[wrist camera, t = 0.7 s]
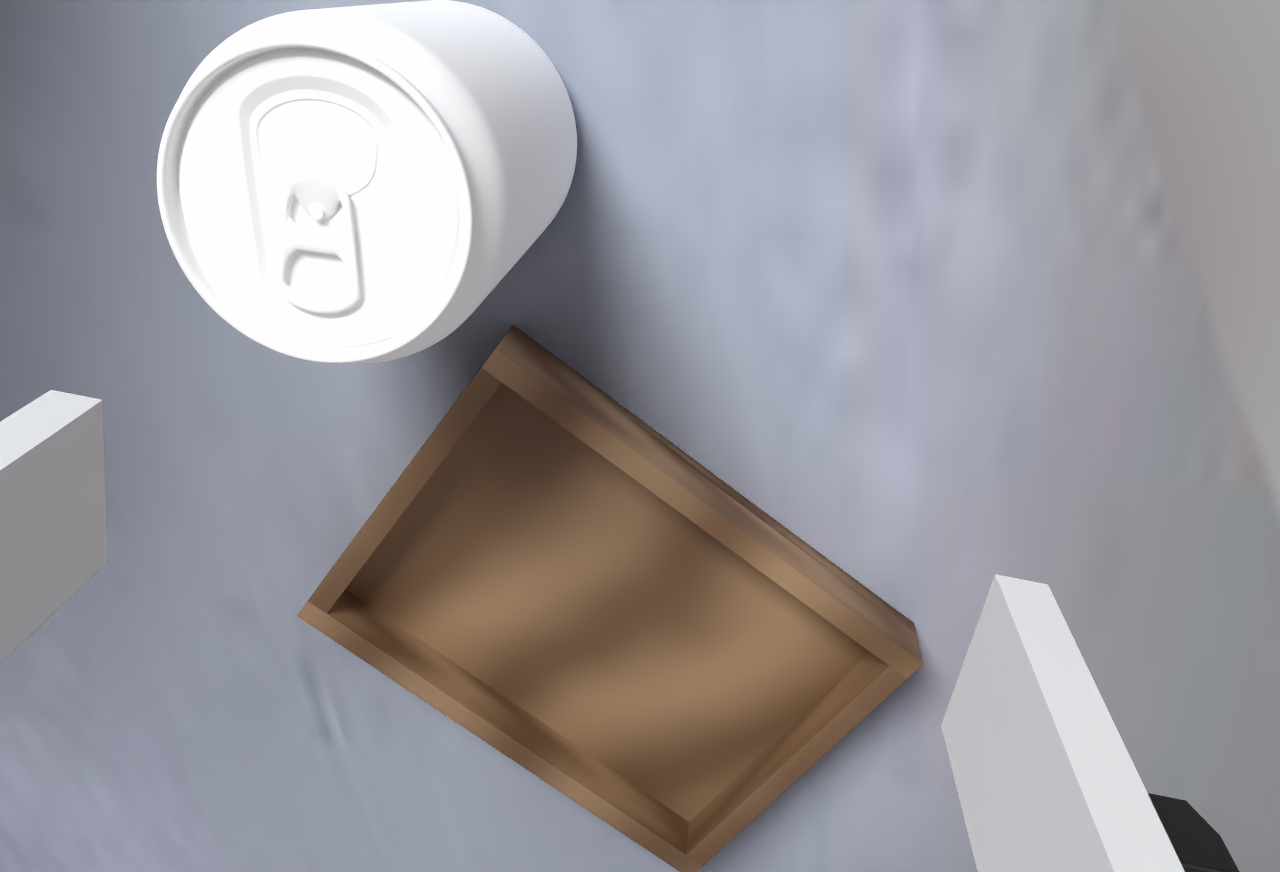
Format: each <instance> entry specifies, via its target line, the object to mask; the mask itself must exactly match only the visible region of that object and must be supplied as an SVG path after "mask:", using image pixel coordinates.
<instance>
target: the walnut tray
mask: <svg viewBox="0 0 1280 872" xmlns="http://www.w3.org/2000/svg"><path fill="white" fill-rule="evenodd" d="M297 616H298V617H300V618H301V619H303V620H304V621H306V622H307V623H309V624H310V625H312V626H313V627H315V628H316V629H318V630H319V631H321V632H322V633H324V634H325V635H327V636H328V637H330V638H331V639H333V640H334V641H336V642H337V643H339V644H340V645H342V646H343V647H345V648H346V649H348V650H349V651H351V652H352V653H354V654H355V655H357V656H358V657H360V658H361V659H363V660H364V661H365V662H367V663H368V664H370V665H371V666H373V667H374V668H376V669H377V670H379V671H380V672H382V673H383V674H385V675H386V676H388V677H389V678H391V679H392V680H394V681H395V682H397V683H398V684H400V685H401V686H403V687H404V688H406V689H407V690H409V691H410V692H412V693H413V694H415V695H416V696H418V697H419V698H421V699H422V700H424V701H425V702H427V703H428V704H430V705H431V706H433V707H434V708H436V709H437V710H439V711H440V712H442V713H443V714H445V715H446V716H448V717H449V718H451V719H452V720H454V721H455V722H457V723H458V724H460V725H461V726H463V727H464V728H466V729H467V730H469V731H470V732H472V733H473V734H475V735H476V736H478V737H479V738H481V739H482V740H484V741H485V742H487V743H488V744H490V745H491V746H493V747H494V748H496V749H497V750H499V751H500V752H502V753H503V754H505V755H506V756H508V757H509V758H511V759H512V760H514V761H515V762H517V763H518V764H520V765H521V766H523V767H524V768H526V769H527V770H529V771H530V772H532V773H533V774H535V775H536V776H538V777H539V778H541V779H542V780H544V781H545V782H547V783H548V784H550V785H551V786H553V787H554V788H556V789H557V790H559V791H560V792H562V793H563V794H565V795H566V796H568V797H569V798H571V799H572V800H574V801H575V802H577V803H578V804H580V805H581V806H583V807H584V808H586V809H587V810H589V811H590V812H592V813H593V814H595V815H596V816H598V817H599V818H601V819H602V820H604V821H605V822H607V823H608V824H610V825H611V826H613V827H614V828H616V829H617V830H619V831H620V832H622V833H623V834H625V835H626V836H628V837H629V838H631V839H632V840H634V841H635V842H637V843H638V844H639V845H641V846H642V847H644V848H645V849H647V850H648V851H650V852H651V853H653V854H654V855H656V856H657V857H659V858H660V859H662V860H663V861H665V862H666V863H668V864H669V865H671V866H672V867H674V868H675V869H677V870H678V871H680V872H697V871H698V870H699V869H700V868H701V867H702V866H703V865H705V864H706V863H707V862H708V861H709V860H710V859H711V858H712V857H713V856H714V855H715V854H717V853H718V852H719V851H720V850H721V849H722V848H723V847H724V846H725V845H726V844H727V843H729V842H730V841H731V840H732V839H733V838H734V837H735V836H736V835H737V834H738V833H739V832H741V831H742V830H743V829H744V828H745V827H746V826H747V825H748V824H749V823H750V822H751V821H753V820H754V819H755V818H756V817H757V816H758V815H759V814H760V813H761V812H762V811H763V810H765V809H766V808H767V807H768V806H769V805H770V804H771V803H772V802H773V801H774V800H775V799H777V798H778V797H779V796H780V795H781V794H782V793H783V792H784V791H785V790H786V789H787V788H789V787H790V786H791V785H792V784H793V783H794V782H795V781H796V780H797V779H798V778H799V777H801V776H802V775H803V774H804V773H805V772H806V771H807V770H808V769H809V768H810V767H811V766H813V765H814V764H815V763H816V762H817V761H818V760H819V759H820V758H821V757H822V756H824V755H825V754H826V753H827V752H828V751H829V750H830V749H831V748H832V747H833V746H834V745H836V744H837V743H838V742H839V741H840V740H841V739H842V738H843V737H844V736H845V735H846V734H848V733H849V732H850V731H851V730H852V729H853V728H854V727H855V726H856V725H857V724H858V723H860V722H861V721H862V720H863V719H864V718H865V717H866V716H867V715H868V714H869V713H870V712H872V711H873V710H874V709H875V708H876V707H877V706H878V705H879V704H880V703H881V702H882V701H884V700H885V699H886V698H887V697H888V696H889V695H890V694H891V693H892V692H893V691H894V690H896V689H897V688H898V687H899V686H900V685H901V684H902V683H903V682H904V681H905V680H906V679H908V678H909V677H910V676H911V675H912V674H913V673H914V672H915V671H916V670H917V669H918V668H920V667H921V666H922V665H923V661H922V657H921V652H920V648H919V643H918V639H917V635H916V630H915V626H914V623H913V622H912V621H910V620H909V619H908V618H906V617H905V616H904V615H902V614H901V613H900V612H898V611H897V610H896V609H894V608H893V607H892V606H890V605H889V604H887V603H886V602H885V601H883V600H882V599H881V598H879V597H878V596H877V595H875V594H874V593H873V592H871V591H870V590H869V589H867V588H866V587H865V586H863V585H862V584H861V583H859V582H858V581H857V580H855V579H854V578H853V577H851V576H850V575H848V574H847V573H846V572H844V571H843V570H842V569H840V568H839V567H838V566H836V565H835V564H834V563H832V562H831V561H830V560H828V559H827V558H826V557H824V556H823V555H822V554H820V553H819V552H818V551H816V550H815V549H813V548H812V547H811V546H809V545H808V544H807V543H805V542H804V541H803V540H801V539H800V538H799V537H797V536H796V535H795V534H793V533H792V532H791V531H789V530H788V529H787V528H785V527H784V526H783V525H781V524H780V523H779V522H777V521H776V520H774V519H773V518H772V517H770V516H769V515H768V514H766V513H765V512H764V511H762V510H761V509H760V508H758V507H757V506H756V505H754V504H753V503H752V502H750V501H749V500H748V499H746V498H745V497H744V496H742V495H741V494H739V493H738V492H737V491H735V490H734V489H733V488H731V487H730V486H729V485H727V484H726V483H725V482H723V481H722V480H721V479H719V478H718V477H717V476H715V475H714V474H713V473H711V472H710V471H709V470H707V469H706V468H705V467H703V466H702V465H700V464H699V463H698V462H696V461H695V460H694V459H692V458H691V457H690V456H688V455H687V454H686V453H684V452H683V451H682V450H680V449H679V448H678V447H676V446H675V445H674V444H672V443H671V442H670V441H668V440H667V439H665V438H664V437H663V436H661V435H660V434H659V433H657V432H656V431H655V430H653V429H652V428H651V427H649V426H648V425H647V424H645V423H644V422H643V421H641V420H640V419H639V418H637V417H636V416H635V415H633V414H632V413H631V412H629V411H628V410H626V409H625V408H624V407H622V406H621V405H620V404H618V403H617V402H616V401H614V400H613V399H612V398H610V397H609V396H608V395H606V394H605V393H604V392H602V391H601V390H600V389H598V388H597V387H596V386H594V385H593V384H591V383H590V382H589V381H587V380H586V379H585V378H583V377H582V376H581V375H579V374H578V373H577V372H575V371H574V370H573V369H571V368H570V367H569V366H567V365H566V364H565V363H563V362H562V361H561V360H559V359H558V358H557V357H555V356H554V355H552V354H551V353H550V352H548V351H547V350H546V349H544V348H543V347H542V346H540V345H539V344H538V343H536V342H535V341H534V340H532V339H531V338H530V337H528V336H527V335H526V334H524V333H523V332H522V331H520V330H519V329H517V328H516V327H515V326H513V325H512V327H511V328H510V329H509V331H508V332H507V333H506V335H505V336H504V337H503V339H502V340H501V341H500V343H499V344H498V345H497V347H496V348H495V349H494V351H493V352H492V353H491V355H490V356H489V358H488V359H487V360H486V362H485V363H484V364H483V366H482V367H481V368H480V370H479V371H478V372H477V374H476V375H475V376H474V378H473V379H472V380H471V382H470V383H469V384H468V386H467V387H466V389H465V390H464V391H463V393H462V394H461V395H460V397H459V398H458V399H457V401H456V402H455V403H454V405H453V406H452V407H451V409H450V410H449V411H448V413H447V414H446V415H445V417H444V418H443V419H442V421H441V422H440V424H439V425H438V426H437V428H436V429H435V430H434V432H433V433H432V434H431V436H430V437H429V438H428V440H427V441H426V442H425V444H424V445H423V446H422V448H421V449H420V450H419V452H418V453H417V454H416V456H415V457H414V459H413V460H412V461H411V463H410V464H409V465H408V467H407V468H406V469H405V471H404V472H403V473H402V475H401V476H400V477H399V479H398V480H397V481H396V483H395V484H394V485H393V487H392V488H391V490H390V491H389V492H388V494H387V495H386V496H385V498H384V499H383V500H382V502H381V503H380V504H379V506H378V507H377V508H376V510H375V511H374V512H373V514H372V515H371V516H370V518H369V519H368V520H367V522H366V523H365V525H364V526H363V527H362V529H361V530H360V531H359V533H358V534H357V535H356V537H355V538H354V539H353V541H352V542H351V543H350V545H349V546H348V547H347V549H346V550H345V551H344V553H343V554H342V555H341V557H340V558H339V560H338V561H337V562H336V564H335V565H334V566H333V568H332V569H331V570H330V572H329V573H328V574H327V576H326V577H325V578H324V580H323V581H322V582H321V584H320V585H319V587H318V588H317V589H316V591H315V592H314V593H313V595H312V596H311V597H310V599H309V600H308V602H307V603H306V604H305V606H304V607H303V608H302V610H301V611H300V612H299V614H298V615H297Z"/></svg>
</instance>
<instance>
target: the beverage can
mask: <svg viewBox="0 0 1280 872" xmlns="http://www.w3.org/2000/svg"><path fill="white" fill-rule="evenodd" d="M576 157H577V131H576V122H575V117H574V112H573V108H572V104H571V101H570V98H569V95H568V93H567V90H566V88H565V85H564V83H563V81H562V79H561V77H560V75H559V73H558V71H557V70H556V68H555V67H554V65H553V63H552V62H551V60H550V59H549V58H548V56H547V55H546V54H545V52H544V51H543V50H542V49H541V48H540V47H539V45H538V44H537V43H536V42H535V41H534V40H533V39H532V38H531V37H530V36H528V35H527V34H526V33H525V32H524V31H523V30H521V29H520V28H519V27H517V26H516V25H515V24H513V23H512V22H510V21H509V20H507V19H505V18H504V17H502V16H500V15H498V14H496V13H494V12H492V11H490V10H487V9H485V8H482V7H479V6H476V5H472V4H468V3H463V2H458V1H448V0H430V1H416V2H403V3H390V4H377V5H364V6H351V7H338V8H324V9H311V10H301V11H293V12H287V13H282V14H278V15H274V16H271V17H268V18H265V19H262V20H260V21H257V22H255V23H253V24H251V25H249V26H247V27H245V28H243V29H241V30H240V31H238V32H236V33H235V34H233V35H232V36H230V37H229V38H227V39H226V40H225V41H223V42H222V43H221V44H220V45H219V46H217V47H216V48H215V49H214V50H213V51H212V52H211V53H210V54H209V55H208V56H207V57H206V58H205V59H204V60H203V61H202V63H201V64H200V65H199V66H198V67H197V69H196V70H195V71H194V73H193V74H192V76H191V77H190V79H189V80H188V82H187V84H186V86H185V87H184V89H183V91H182V93H181V95H180V97H179V99H178V101H177V103H176V104H175V106H174V108H173V110H172V112H171V114H170V116H169V119H168V121H167V124H166V126H165V129H164V132H163V135H162V139H161V143H160V148H159V154H158V162H157V194H158V202H159V208H160V214H161V218H162V222H163V226H164V229H165V232H166V235H167V238H168V241H169V243H170V246H171V248H172V251H173V253H174V255H175V257H176V259H177V261H178V263H179V265H180V266H181V268H182V270H183V272H184V273H185V275H186V276H187V278H188V280H189V281H190V282H191V284H192V285H193V287H194V288H195V289H196V291H197V292H198V293H199V294H200V296H201V297H202V298H203V299H204V300H205V301H206V303H207V304H208V305H209V306H210V307H211V308H212V309H213V310H214V311H215V312H216V313H217V314H218V315H219V316H220V317H222V318H223V319H224V320H225V321H226V322H227V323H229V324H230V325H231V326H233V327H234V328H235V329H237V330H238V331H239V332H241V333H242V334H244V335H245V336H247V337H249V338H250V339H252V340H254V341H255V342H257V343H259V344H261V345H263V346H265V347H267V348H270V349H272V350H274V351H277V352H279V353H282V354H285V355H288V356H291V357H295V358H299V359H303V360H308V361H314V362H322V363H341V364H373V363H381V362H387V361H392V360H396V359H400V358H403V357H406V356H409V355H412V354H415V353H417V352H420V351H422V350H424V349H426V348H428V347H430V346H432V345H434V344H436V343H437V342H439V341H441V340H442V339H444V338H445V337H446V336H448V335H449V334H451V333H452V332H453V331H454V330H456V329H457V328H458V327H459V326H460V325H461V324H462V323H463V322H464V321H465V320H466V319H467V318H468V317H469V316H470V315H471V314H472V313H473V312H474V311H475V310H476V308H477V307H478V306H479V305H480V304H481V303H482V302H483V300H484V299H485V298H486V297H487V296H488V295H489V293H490V292H491V291H492V290H493V289H494V288H495V287H496V285H497V284H498V283H499V282H500V281H501V280H502V279H503V277H504V276H505V275H506V274H507V273H508V272H509V271H510V269H511V268H512V267H513V266H514V265H515V264H516V262H517V261H518V260H519V259H520V258H521V257H522V256H523V254H524V253H525V252H526V251H527V250H528V249H529V248H530V246H531V245H532V244H533V243H534V242H535V241H536V240H537V238H538V237H539V236H540V235H541V234H542V233H543V231H544V230H545V229H546V228H547V227H548V226H549V224H550V223H551V222H552V220H553V219H554V218H555V216H556V215H557V213H558V212H559V210H560V208H561V206H562V205H563V203H564V201H565V199H566V196H567V194H568V191H569V189H570V186H571V183H572V179H573V175H574V171H575V165H576Z"/></svg>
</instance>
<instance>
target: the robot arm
mask: <svg viewBox="0 0 1280 872" xmlns="http://www.w3.org/2000/svg"><path fill="white" fill-rule="evenodd" d="M107 562H108V548H107V518H106V487H105V457H104V427H103V400H101V399H96V398H90V397H85V396H80V395H75V394H70V393H65V392H60V391H55V390H50V391H48V392H47V393H45V394H44V395H42V396H40V397H39V398H37V399H36V400H34V401H32V402H31V403H29V404H28V405H26V406H24V407H23V408H21V409H20V410H18V411H16V412H15V413H13V414H12V415H10V416H8V417H7V418H5V419H4V420H2V421H0V664H1V663H2V662H3V661H4V660H5V659H6V658H7V657H8V656H9V655H10V654H11V653H12V652H13V651H14V650H15V649H16V648H17V647H18V646H20V645H21V644H22V643H23V642H24V641H25V640H26V639H27V638H28V637H29V636H30V635H31V634H32V633H33V632H34V631H35V630H36V629H37V628H38V627H40V626H41V625H42V624H43V623H44V622H45V621H46V620H47V619H48V618H49V617H50V616H51V615H52V614H53V613H54V612H55V611H56V610H57V609H59V608H60V607H61V606H62V605H63V604H64V603H65V602H66V601H67V600H68V599H69V598H70V597H71V596H72V595H73V594H74V593H75V592H76V591H78V590H79V589H80V588H81V587H82V586H83V585H84V584H85V583H86V582H87V581H88V580H89V579H90V578H91V577H92V576H93V575H94V574H95V573H97V572H98V571H99V570H100V569H101V568H102V567H103V566H104V565H105V564H106V563H107ZM941 728H942V732H943V735H944V739H945V743H946V747H947V751H948V755H949V759H950V763H951V767H952V771H953V775H954V779H955V783H956V787H957V791H958V795H959V799H960V803H961V807H962V811H963V815H964V819H965V823H966V827H967V831H968V835H969V839H970V843H971V847H972V851H973V855H974V859H975V863H976V867H977V871H978V872H1239V870H1238V868H1237V866H1236V864H1235V863H1234V861H1233V859H1232V857H1231V855H1230V853H1229V851H1228V850H1227V848H1226V846H1225V844H1224V842H1223V840H1222V838H1221V837H1220V835H1219V834H1218V833H1217V832H1216V831H1215V830H1214V829H1213V828H1212V827H1211V826H1210V825H1209V824H1208V823H1207V822H1206V821H1205V820H1204V819H1203V818H1202V817H1201V816H1200V815H1199V814H1198V813H1197V812H1196V811H1195V810H1194V809H1193V808H1192V806H1191V805H1190V804H1189V803H1188V802H1187V801H1185V800H1180V799H1175V798H1170V797H1165V796H1160V795H1154V794H1149V793H1147V791H1146V789H1145V787H1144V785H1143V783H1142V781H1141V779H1140V777H1139V775H1138V773H1137V770H1136V768H1135V766H1134V764H1133V762H1132V760H1131V758H1130V756H1129V754H1128V752H1127V749H1126V747H1125V745H1124V743H1123V741H1122V739H1121V737H1120V735H1119V733H1118V731H1117V729H1116V726H1115V724H1114V722H1113V720H1112V718H1111V716H1110V714H1109V712H1108V710H1107V708H1106V705H1105V703H1104V701H1103V699H1102V697H1101V695H1100V693H1099V691H1098V689H1097V687H1096V685H1095V682H1094V680H1093V678H1092V676H1091V674H1090V672H1089V670H1088V668H1087V666H1086V664H1085V661H1084V659H1083V657H1082V655H1081V653H1080V651H1079V649H1078V647H1077V645H1076V643H1075V641H1074V638H1073V636H1072V634H1071V632H1070V630H1069V628H1068V626H1067V624H1066V622H1065V620H1064V617H1063V615H1062V613H1061V611H1060V609H1059V607H1058V605H1057V603H1056V601H1055V599H1054V597H1053V594H1052V592H1051V590H1050V588H1049V586H1048V585H1047V584H1042V583H1037V582H1032V581H1026V580H1021V579H1016V578H1011V577H1006V576H1001V575H996V574H995V576H994V579H993V582H992V585H991V588H990V590H989V593H988V596H987V599H986V602H985V604H984V607H983V610H982V613H981V616H980V618H979V621H978V624H977V627H976V630H975V632H974V635H973V638H972V641H971V644H970V646H969V649H968V652H967V655H966V658H965V661H964V663H963V666H962V669H961V672H960V675H959V677H958V680H957V683H956V686H955V689H954V691H953V694H952V697H951V700H950V703H949V705H948V708H947V711H946V714H945V717H944V719H943V722H942V725H941Z"/></svg>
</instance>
